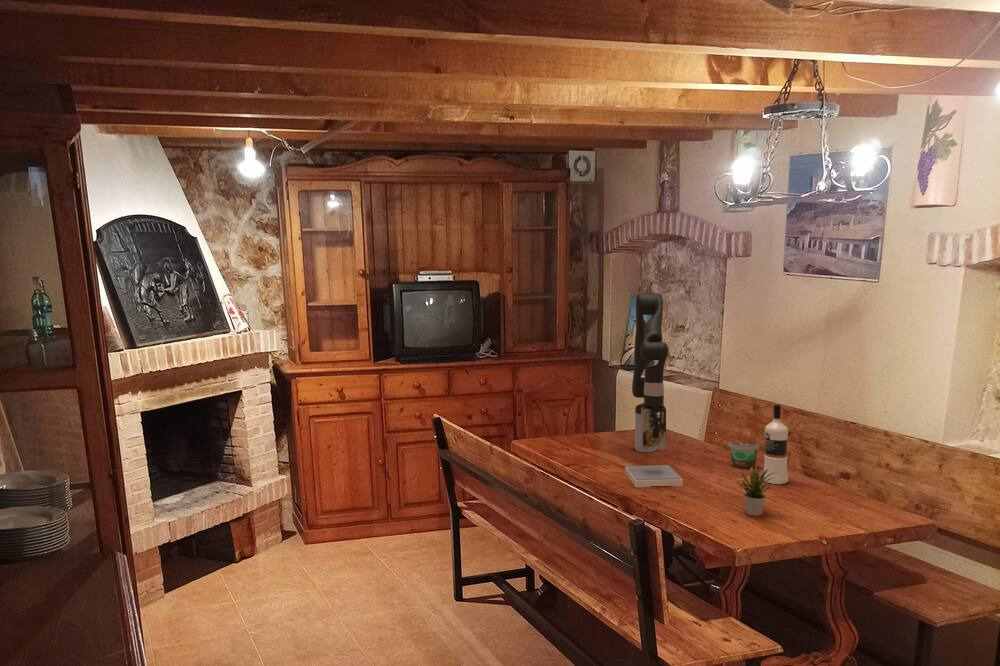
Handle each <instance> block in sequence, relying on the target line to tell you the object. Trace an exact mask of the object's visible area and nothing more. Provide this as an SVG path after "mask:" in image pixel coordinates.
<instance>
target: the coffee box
mask: <svg viewBox="0 0 1000 666" xmlns="http://www.w3.org/2000/svg"><path fill="white" fill-rule="evenodd" d="M659 413H662V418H661V428H659V438H653V423H652V422H651V418H653V420H654V416H653V408H652V407H648V406H645V405H641V446H642V449H656V450H667V408H666V406H665V404H664V405H663V406H661V407H659ZM656 425H658V422H656Z"/></svg>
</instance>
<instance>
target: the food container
mask: <svg viewBox="0 0 1000 666" xmlns="http://www.w3.org/2000/svg"><path fill="white" fill-rule="evenodd" d="M727 447H729V449H730V460H731V461H730V462H731V466H732V467H733V466H734V467H733V468H736V467H737V468H736V469H741V470H751V466H752V468H753V469H755V468H754V467H755V466H756V464H757V456H758V450H759V449H761V448H760V444H759V443H756V444H750V443H745V442H744V443H743V442H740V443H737V442H736V443H735V442H734V443H733V442H731V441H729V442H728V445H727Z"/></svg>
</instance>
